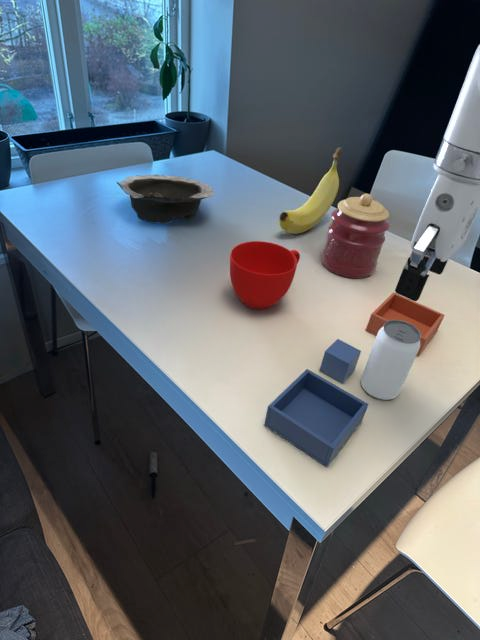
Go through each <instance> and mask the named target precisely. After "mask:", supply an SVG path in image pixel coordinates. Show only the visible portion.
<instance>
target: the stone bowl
mask: <svg viewBox="0 0 480 640" xmlns="http://www.w3.org/2000/svg"><path fill="white" fill-rule="evenodd" d="M116 184H117V185H118V186H119V188H120V189H121V190H122V191H123V192H124V193H125V194H126V195H128V196H129V199H130V206H131V208H132V209H133V210H134V212H135V213H136V217H137V218H138V219H139V220H141V221H144V222H147V223H151V224H157V223H160V224H169V223H171V222H172V221H173V220H174V218H175V219H185V220H192V219H194V218H195V217H196V215H197V214H198V211H199V208H200V205H201V201H202V200H204V199H207V198H211V197H213V196H214V195H215V193H214V191H213V188H212V187H211V186H210V185H209V184H207V183H205V182H202V181H200V180H196V179H191V178H187V177H182V176H176V175H164V174H143V175H142V174H139V175H132V176H128V177H126V178H125V179H123V180H121V181H116Z"/></svg>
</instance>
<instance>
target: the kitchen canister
mask: <svg viewBox="0 0 480 640" xmlns="http://www.w3.org/2000/svg"><path fill="white" fill-rule="evenodd" d="M330 215H331V219H332V221H331V223H329V225H328V227H327V230H328V231H327V235H326V240H325V243H324V247H323V249H322V253H321V262H322V264H323V266H324V267H325V268H326V269H327V270H328V271H330V272H332V273H334V274H336V275H338V276H340V277H341V276H342V277H345V278H350V279H363V278H367V277H370V276H371V275H372V274H373V273H374V271H375V270H376V269H377V265H378V264H379V263H378V260H379V258H380V254H381V252H382V248H383V245H384V243H385V241H386V235H385V234H386V232H387V231H388V230H389V229H390V227H391V225H390V221H389V220H388V218H389V217H390V213H389V210H387V209H386V208H385V207H384V205H383V204H381V202H379V201H377V200H374V199H373V196H372V195H371V194H370V193H363V194H361V196H351V197H347V198H345V199H342V200H340V201H339V202H338V203H337V208H336V209H334V210H333V211H332V213H331V214H330Z"/></svg>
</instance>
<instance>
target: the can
mask: <svg viewBox="0 0 480 640" xmlns="http://www.w3.org/2000/svg"><path fill="white" fill-rule="evenodd" d="M420 339H421V333H420V331H419V330H418V329H417V328H416V327H415V326H413V325H412V324H410V323H408V322H405V321H401V320H389V321H387V322H385V323H384V326H383V327H382V328H381V329H380V330H379V332H378V334H377V336H376V337H375V338H374V341H373V343H372V344H373V345H372V347H371V350H370V353H369V355H368V358H367V361H366V363H365V367H364V369H363V371H362V375H361V377H360V385H361V386H362V388H363V390H364V391H365V393H367V394H368V395H369V396H371V397H372V398H375V399H377V400H381V401H389V400H393V399H395V398H397V397H398V396H399V395H400V392H401V391H402V388H403V386H404V385H405V382H406V380H407V378H408V376H409V373H410V370H411V369H412V366H413V364H414V362H415V360H416V358H417V356H416V355H417V353H418V351H419V348H420Z"/></svg>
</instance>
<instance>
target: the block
mask: <svg viewBox="0 0 480 640" xmlns="http://www.w3.org/2000/svg"><path fill="white" fill-rule="evenodd" d="M361 353H362V350H361V349H359V348H356V347H354V346H353V345H351V344H349V343H347V342H345V341H343V340H341V339H340V338H337V339H336V340H335V341H334V342H333V343H332V344H330V346H328V347H327V349H325V351H324V353H323V357H322V359H321V364H320V367H319V372H321V373H323V374H325V375H327V376H328V377H330V378H332V379H333V380H336V381H337V382H339V383H341V384H344V383H345V382H346V380H348V379H349V377H350V376H351V375H352V374H353V373H354V371H355V370H356V368H357V365H358V361H359V359H360V357H361Z"/></svg>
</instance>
